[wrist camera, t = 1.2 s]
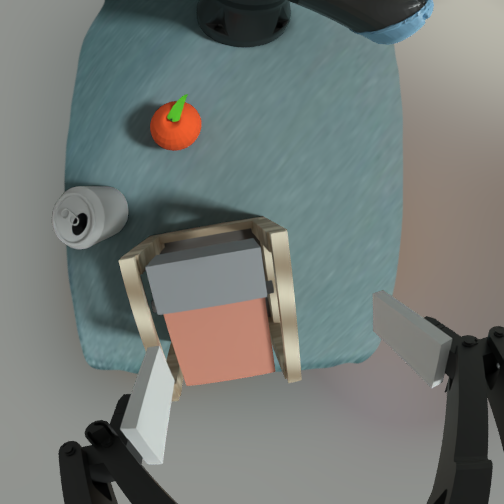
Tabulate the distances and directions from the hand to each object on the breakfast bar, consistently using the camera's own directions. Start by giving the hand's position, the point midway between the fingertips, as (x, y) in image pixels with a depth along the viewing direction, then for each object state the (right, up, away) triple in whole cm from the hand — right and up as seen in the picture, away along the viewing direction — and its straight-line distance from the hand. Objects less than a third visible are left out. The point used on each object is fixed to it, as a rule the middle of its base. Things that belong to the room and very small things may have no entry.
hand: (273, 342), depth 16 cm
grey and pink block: (-5, -2, +17) cm, 18 cm away
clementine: (-12, +23, +21) cm, 34 cm away
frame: (-7, 0, +27) cm, 28 cm away
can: (-23, +11, +23) cm, 34 cm away
